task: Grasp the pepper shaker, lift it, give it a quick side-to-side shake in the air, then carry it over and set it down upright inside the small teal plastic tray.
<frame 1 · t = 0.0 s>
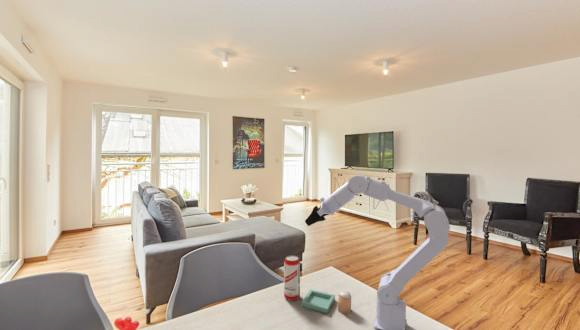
hand: (310, 220, 102), 32 cm above the table, tool tilted 50°, fingers open, 7 cm apart
beer can: (292, 297, 110), on the table
shaker: (344, 310, 101), on the table
tray: (318, 303, 105), on the table
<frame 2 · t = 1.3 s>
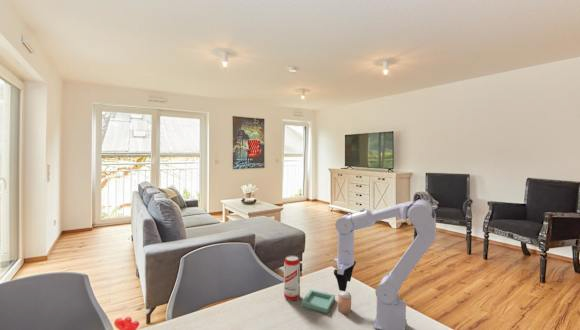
hand: (344, 285, 100), 9 cm above the table, tool pointing down, fingers open, 7 cm apart
nothing on the table moved.
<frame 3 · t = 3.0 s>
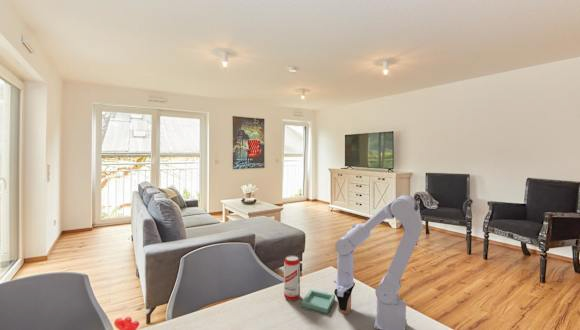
hand: (344, 305, 101), 2 cm above the table, tool pointing down, fingers closed on shaker, 5 cm apart
shaker: (344, 310, 101), on the table, touching gripper
everything else where it was.
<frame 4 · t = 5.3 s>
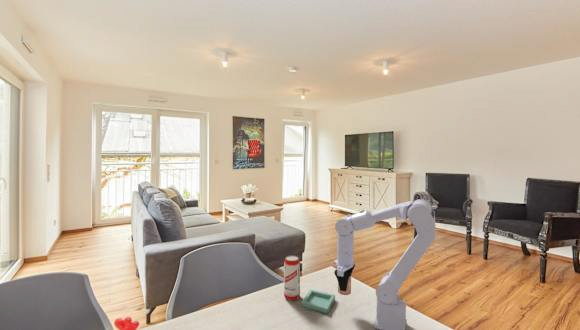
hand: (344, 287, 100), 9 cm above the table, tool pointing down, fingers closed on shaker, 5 cm apart
shaker: (344, 291, 100), point 7 cm above the table, touching gripper
everything else where it was.
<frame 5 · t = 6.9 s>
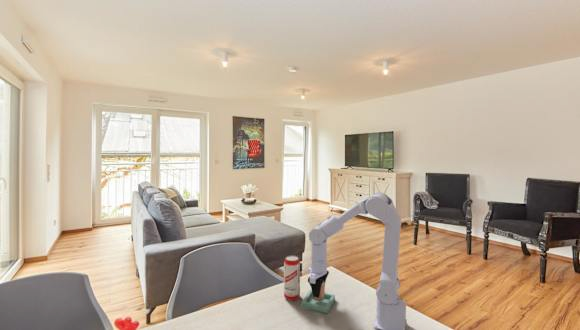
hand: (318, 293, 105), 4 cm above the table, tool pointing down, fingers closed on shaker, 5 cm apart
shaker: (318, 297, 105), point 2 cm above the table, touching gripper
everything else where it was.
when the fingers open (4 cm above the table, at t = 7.9 s): shaker drops 1 cm, resting on tray.
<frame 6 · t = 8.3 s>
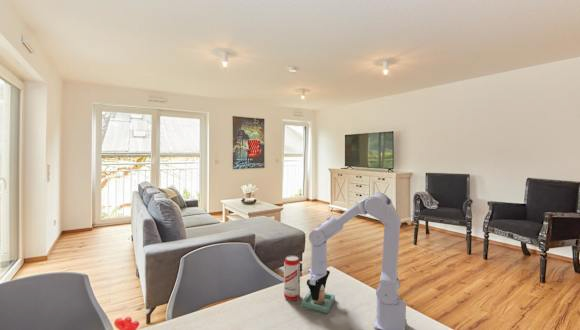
hand: (318, 294, 105), 4 cm above the table, tool pointing down, fingers open, 7 cm apart
shaker: (318, 302, 105), point 1 cm above the table, touching tray
everything else where it was.
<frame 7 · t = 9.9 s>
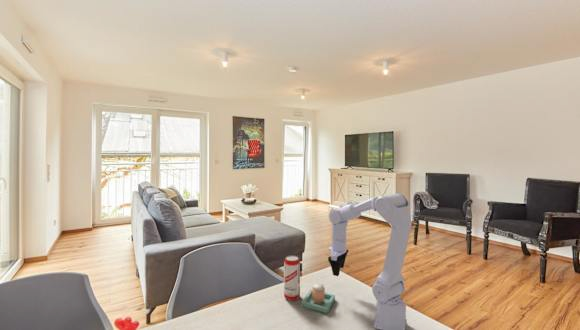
hand: (338, 271, 111), 9 cm above the table, tool pointing down, fingers open, 7 cm apart
nothing on the table moved.
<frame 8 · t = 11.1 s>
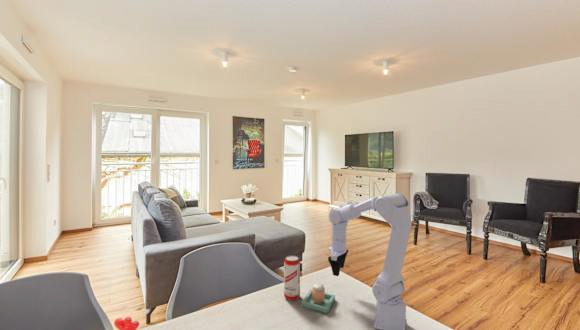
hand: (338, 271, 111), 9 cm above the table, tool pointing down, fingers open, 7 cm apart
nothing on the table moved.
at the end: shaker 0.0 cm off-centre on the tray, point 0.6 cm above the tray's base; shaker tilted 0°; the gripper is holding nothing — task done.
